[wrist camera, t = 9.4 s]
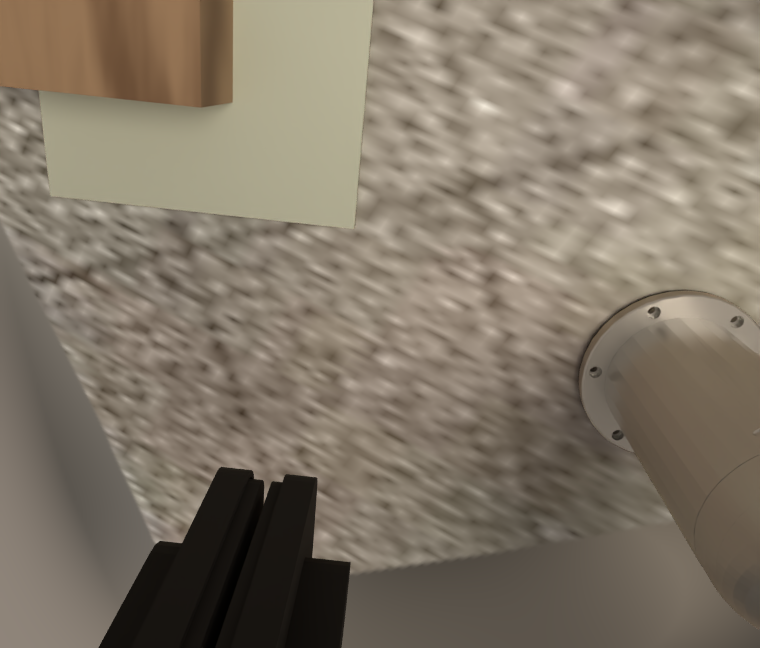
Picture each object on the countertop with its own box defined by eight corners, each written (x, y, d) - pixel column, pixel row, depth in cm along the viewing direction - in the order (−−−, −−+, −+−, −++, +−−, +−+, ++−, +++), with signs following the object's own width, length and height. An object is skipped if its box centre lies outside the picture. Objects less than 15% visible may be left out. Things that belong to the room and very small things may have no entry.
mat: (385, -140, 32) (385, -143, 32) (354, 227, 40) (354, 229, 40) (14, -179, 32) (8, -183, 32) (54, 194, 40) (50, 196, 40)
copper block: (199, -25, 29) (-49, -51, 29) (201, 107, 31) (-29, 83, 31) (233, -9, 35) (24, -32, 35) (232, 102, 37) (37, 81, 37)
